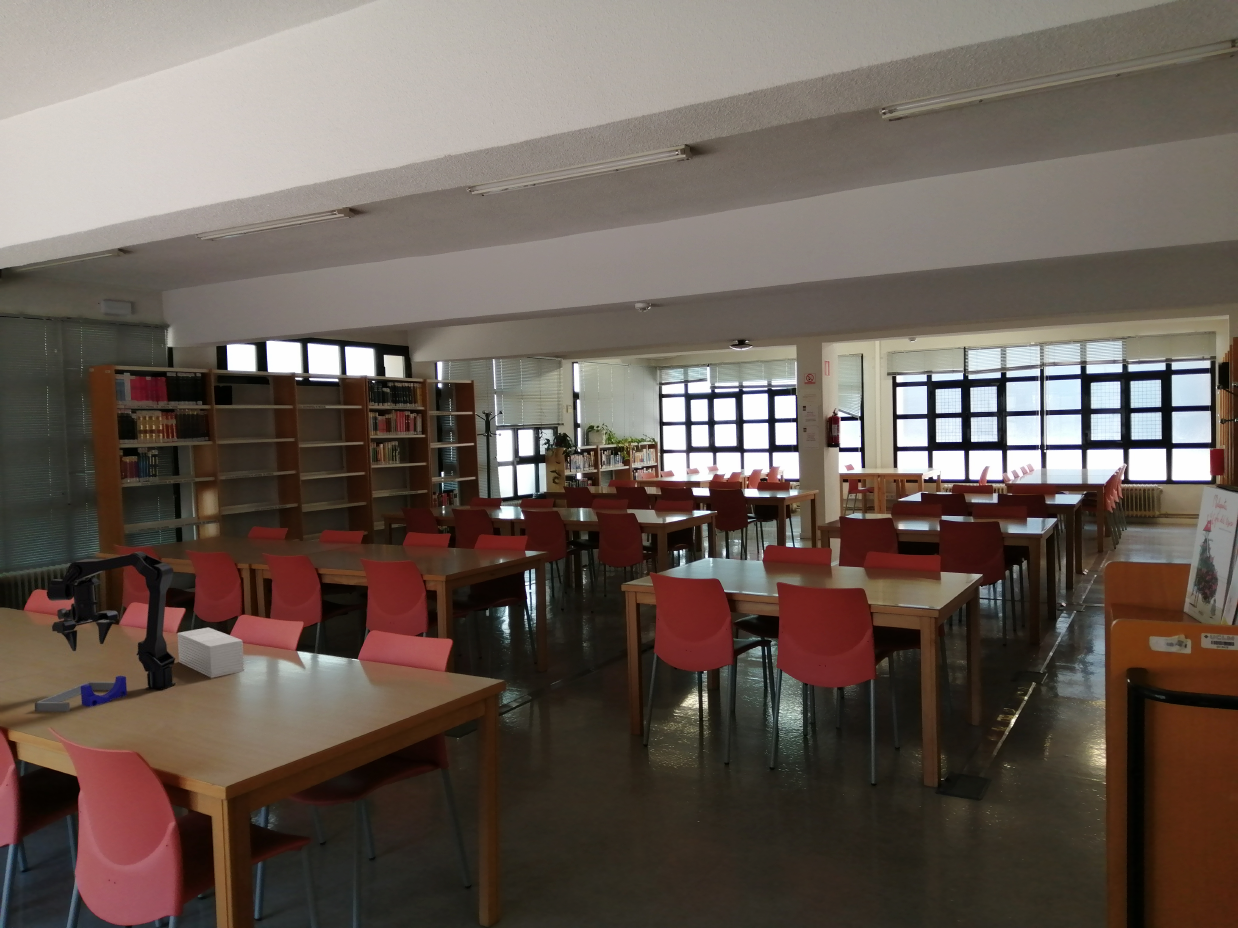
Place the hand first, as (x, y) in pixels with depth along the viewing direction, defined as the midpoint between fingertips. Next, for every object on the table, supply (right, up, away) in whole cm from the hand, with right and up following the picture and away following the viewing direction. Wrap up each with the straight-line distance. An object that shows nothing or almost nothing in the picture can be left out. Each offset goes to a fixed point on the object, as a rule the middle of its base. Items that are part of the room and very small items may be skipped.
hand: (88, 647), depth 281 cm
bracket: (+5, -14, -12) cm, 19 cm away
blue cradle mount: (+13, -14, -13) cm, 23 cm away
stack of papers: (+28, -12, +24) cm, 39 cm away
